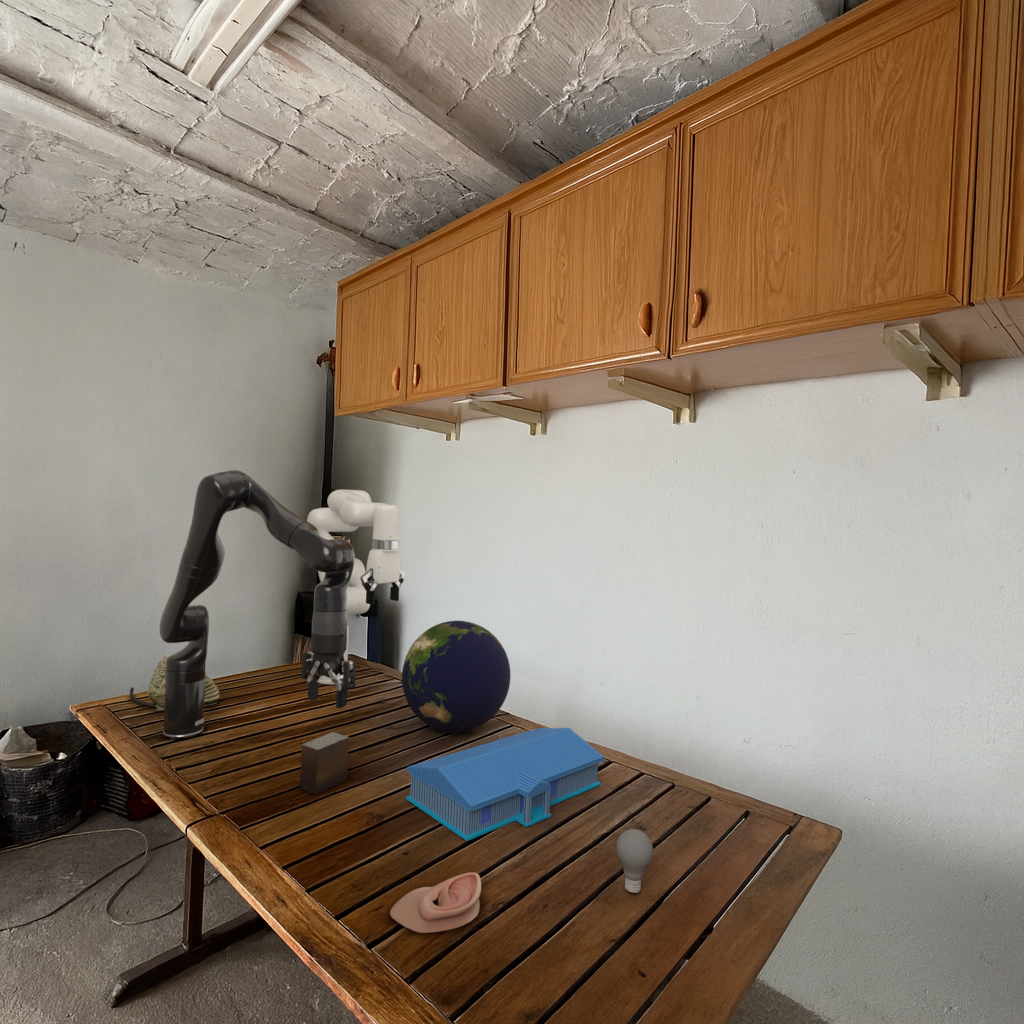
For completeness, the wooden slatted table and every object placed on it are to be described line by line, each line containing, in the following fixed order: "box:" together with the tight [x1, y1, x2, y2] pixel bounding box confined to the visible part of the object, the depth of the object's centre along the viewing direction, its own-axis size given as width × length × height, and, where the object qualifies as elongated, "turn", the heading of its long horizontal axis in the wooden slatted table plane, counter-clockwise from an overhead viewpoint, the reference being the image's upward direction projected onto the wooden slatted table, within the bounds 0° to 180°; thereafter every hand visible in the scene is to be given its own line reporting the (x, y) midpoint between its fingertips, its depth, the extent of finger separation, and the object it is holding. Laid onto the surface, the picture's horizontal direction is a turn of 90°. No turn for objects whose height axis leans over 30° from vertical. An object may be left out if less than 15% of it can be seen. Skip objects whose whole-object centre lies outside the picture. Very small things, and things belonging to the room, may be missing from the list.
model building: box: [405, 727, 605, 842], centre depth 138 cm, size 39×24×10 cm, turn 132°
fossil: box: [147, 654, 221, 712], centre depth 185 cm, size 9×18×15 cm, turn 132°
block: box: [299, 731, 350, 795], centre depth 140 cm, size 5×9×10 cm, turn 150°
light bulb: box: [615, 828, 654, 894], centre depth 106 cm, size 6×6×10 cm
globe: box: [401, 620, 512, 734], centre depth 175 cm, size 30×30×30 cm
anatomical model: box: [389, 871, 482, 934], centre depth 98 cm, size 13×4×12 cm
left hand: (327, 703), depth 139 cm, fingers open, 8 cm apart
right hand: (382, 602), depth 191 cm, fingers open, 9 cm apart
